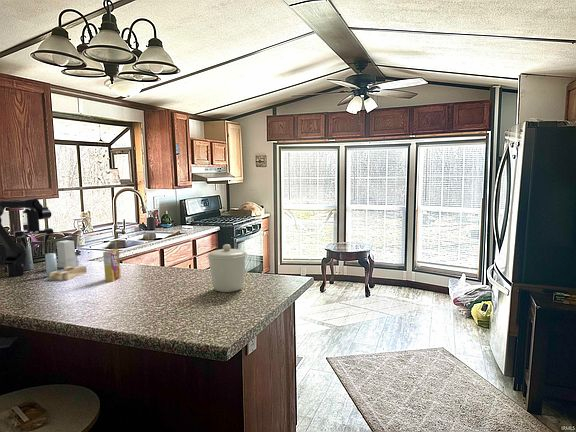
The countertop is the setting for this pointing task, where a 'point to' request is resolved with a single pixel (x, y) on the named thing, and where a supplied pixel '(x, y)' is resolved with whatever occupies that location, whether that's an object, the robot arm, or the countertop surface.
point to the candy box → (112, 265)
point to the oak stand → (68, 273)
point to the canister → (227, 268)
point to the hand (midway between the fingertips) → (35, 247)
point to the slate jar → (50, 263)
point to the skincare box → (66, 253)
